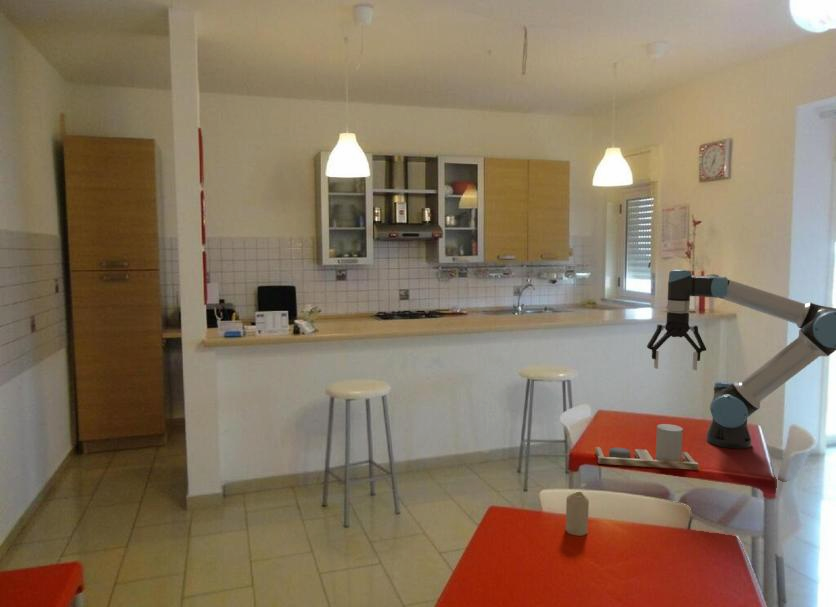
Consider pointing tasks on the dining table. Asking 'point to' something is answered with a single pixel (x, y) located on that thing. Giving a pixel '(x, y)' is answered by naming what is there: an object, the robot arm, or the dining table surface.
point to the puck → (619, 453)
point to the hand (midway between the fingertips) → (675, 368)
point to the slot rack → (647, 460)
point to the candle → (577, 514)
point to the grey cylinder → (669, 442)
